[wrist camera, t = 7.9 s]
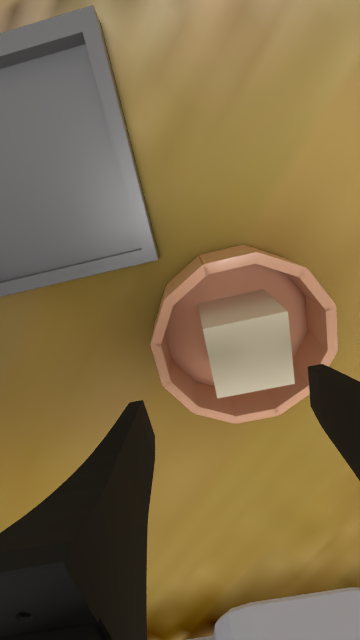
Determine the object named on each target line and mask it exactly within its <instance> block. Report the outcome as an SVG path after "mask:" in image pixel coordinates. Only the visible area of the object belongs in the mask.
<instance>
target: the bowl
mask: <svg viewBox="0 0 360 640" xmlns="http://www.w3.org/2000/svg"><path fill="white" fill-rule="evenodd" d="M262 289H264V290H265V291H266V292H268V293H269V294H270V295H271V296H272V297H273V298H274V299H275V300H276V301H277V302H278V303H279V304H280V305H282V306H283V307H284V308H285V309H286V310H287V311H288V318H289V328H290V339H291V349H292V359H293V370H294V380H295V384H291V385H286V386H281V387H275V388H270V389H265V390H260V391H254V392H249V393H244V394H239V395H233V396H228V397H223V398H218V399H217V394H216V389H215V385H214V380H213V375H212V371H211V366H210V361H209V356H208V352H207V347H206V342H205V338H204V333H203V328H202V323H201V318H200V314H199V309H198V304H197V303H202V302H206V301H211V300H216V299H220V298H225V297H230V296H234V295H239V294H244V293H248V292H253V291H258V290H262ZM151 349H152V352H153V355H154V359H155V362H156V366H157V369H158V372H159V376H160V379H161V383H162V385H163V387H164V388H166V389H167V390H168V391H169V392H170V393H171V394H172V395H173V396H174V397H176V398H177V399H178V400H179V401H180V402H181V403H182V404H183V405H185V406H186V407H187V408H188V409H189V410H190V411H191V412H192V413H194V414H198V415H202V416H206V417H210V418H214V419H218V420H222V421H226V422H230V423H234V424H236V423H242V422H247V421H252V420H258V419H263V418H268V417H274V416H278V415H280V414H282V413H283V412H285V411H286V410H287V409H289V408H290V407H292V406H293V405H295V404H296V403H298V402H299V401H301V400H302V399H303V398H305V397H306V396H308V395H309V394H310V391H309V379H308V367H309V366H314V365H319V364H324V365H326V366H328V367H329V366H330V364H331V362H332V360H333V358H334V357H335V355H336V353H337V350H338V340H337V315H336V305H335V303H334V302H333V301H332V300H331V298H330V297H329V296H328V294H327V293H326V292H325V291H324V289H323V288H322V287H321V285H320V284H319V283H318V281H317V280H316V279H315V278H314V276H313V275H312V274H311V272H310V271H309V270H308V269H307V268H306V267H304V266H302V265H299V264H297V263H295V262H293V261H291V260H288V259H286V258H284V257H281V256H278V255H274V254H271V253H268V252H265V251H262V250H259V249H256V248H253V247H250V246H247V245H239V246H234V247H230V248H226V249H222V250H217V251H213V252H209V253H204V254H200V255H198V256H197V257H196V258H195V259H194V260H193V261H191V262H190V263H189V264H188V265H187V266H186V267H185V268H184V269H183V270H182V271H181V272H180V273H178V274H177V275H176V276H175V277H174V278H173V279H172V280H171V281H170V282H169V283H168V284H167V285H166V287H165V291H164V294H163V297H162V301H161V304H160V307H159V311H158V314H157V318H156V321H155V325H154V330H153V335H152V340H151Z"/></svg>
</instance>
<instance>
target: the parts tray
mask: <svg viewBox="0 0 360 640" xmlns="http://www.w3.org/2000/svg"><path fill="white" fill-rule="evenodd" d="M158 258H159V253H158V249H157V245H156V241H155V237H154V233H153V229H152V225H151V221H150V217H149V213H148V209H147V205H146V201H145V197H144V193H143V189H142V185H141V181H140V177H139V173H138V169H137V165H136V161H135V158H134V154H133V150H132V146H131V142H130V138H129V134H128V130H127V126H126V122H125V118H124V114H123V110H122V106H121V102H120V98H119V94H118V90H117V86H116V82H115V78H114V74H113V70H112V66H111V62H110V58H109V54H108V50H107V46H106V42H105V38H104V34H103V30H102V27H101V23H100V21H99V18H98V16H97V14H96V11H95V9H94V6H93V5H92V6H88V7H85V8H82V9H79V10H75V11H72V12H69V13H65V14H62V15H59V16H56V17H52V18H49V19H46V20H42V21H39V22H36V23H33V24H29V25H26V26H23V27H20V28H16V29H13V30H10V31H6V32H3V33H0V297H1V296H5V295H10V294H14V293H18V292H22V291H27V290H31V289H35V288H40V287H44V286H48V285H52V284H57V283H61V282H65V281H69V280H74V279H78V278H82V277H87V276H91V275H95V274H99V273H104V272H108V271H112V270H117V269H121V268H125V267H129V266H134V265H138V264H142V263H146V262H151V261H155V260H158Z"/></svg>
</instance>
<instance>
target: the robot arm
mask: <svg viewBox="0 0 360 640" xmlns="http://www.w3.org/2000/svg"><path fill="white" fill-rule="evenodd" d="M308 379H309V391H310V403H311V407H312V409H313V411H314V413H315V415H316V417H317V419H318V421H319V423H320V424H321V426H322V428H323V429H324V431H325V432H326V434H327V435H328V436H329V438H330V439H331V441H332V442H333V444H334V445H335V446H336V448H337V449H338V451H339V452H340V453H341V455H342V456H343V458H344V459H345V460H346V462H347V463H348V465H349V466H350V467H351V469H352V470H353V472H354V473H355V474H356V476H357V477H358V479H359V480H360V382H359V381H357V380H355V379H353V378H351V377H349V376H347V375H345V374H342V373H340V372H338V371H336V370H334V369H332V368H330V367H328V366H326V365H324V364H319V365H314V366H309V367H308ZM154 462H155V435H154V432H153V429H152V426H151V423H150V420H149V417H148V414H147V411H146V408H145V405H144V402H143V400H141V401H136V402H131V403H129V404H128V406H127V407H126V409H125V410H124V411H123V413H122V414H121V416H120V417H119V419H118V420H117V421H116V423H115V424H114V426H113V427H112V428H111V430H110V431H109V433H108V434H107V435H106V437H105V438H104V439H103V440H102V442H101V443H100V444H99V445H98V447H97V448H96V449H95V450H94V452H93V453H92V454H91V455H90V456H89V457H88V459H87V460H86V461H85V462H84V463H83V464H82V465H81V466H80V467H79V468H78V469H77V470H76V471H75V472H74V473H73V474H72V475H71V476H70V477H69V478H68V479H67V480H66V481H65V482H64V483H63V484H62V485H61V486H60V487H59V488H57V489H56V490H55V491H54V492H53V493H52V494H51V495H50V496H49V497H47V498H46V499H45V500H44V501H43V502H41V503H40V504H39V505H38V506H36V507H35V508H34V509H33V510H31V511H30V512H29V513H27V514H26V515H25V516H24V517H22V518H21V519H20V520H18V521H17V522H15V523H14V524H12V525H11V526H10V527H8V528H7V529H5V530H4V531H2V532H1V533H0V640H147V618H146V569H147V524H148V512H149V503H150V495H151V487H152V479H153V471H154ZM188 640H360V588H344V589H337V590H331V591H324V592H318V593H311V594H304V595H298V596H291V597H285V598H278V599H271V600H265V601H258V602H252V603H248V604H244V605H241V606H238V607H235V608H232V609H230V610H229V611H228V612H226V613H225V614H224V615H223V616H222V617H221V618H219V619H218V621H217V622H216V624H215V629H214V636H209V637H202V638H195V639H188Z"/></svg>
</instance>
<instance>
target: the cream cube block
mask: <svg viewBox="0 0 360 640" xmlns="http://www.w3.org/2000/svg"><path fill="white" fill-rule="evenodd" d="M197 304H198V309H199V314H200V318H201V323H202V328H203V333H204V338H205V342H206V347H207V352H208V356H209V361H210V366H211V371H212V375H213V380H214V385H215V389H216V394H217V399H218V398H223V397H228V396H233V395H239V394H244V393H249V392H254V391H260V390H265V389H270V388H275V387H281V386H286V385H291V384H295V380H294V370H293V359H292V349H291V339H290V328H289V318H288V311H287V310H286V309H285V308H284V307H283V306H282V305H280V304H279V303H278V302H277V301H276V300H275V299H274V298H273V297H272V296H271V295H270V294H269V293H268V292H266V291H265V290H264V289H262V290H258V291H253V292H248V293H244V294H239V295H234V296H230V297H225V298H220V299H216V300H211V301H206V302H202V303H197Z"/></svg>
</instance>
